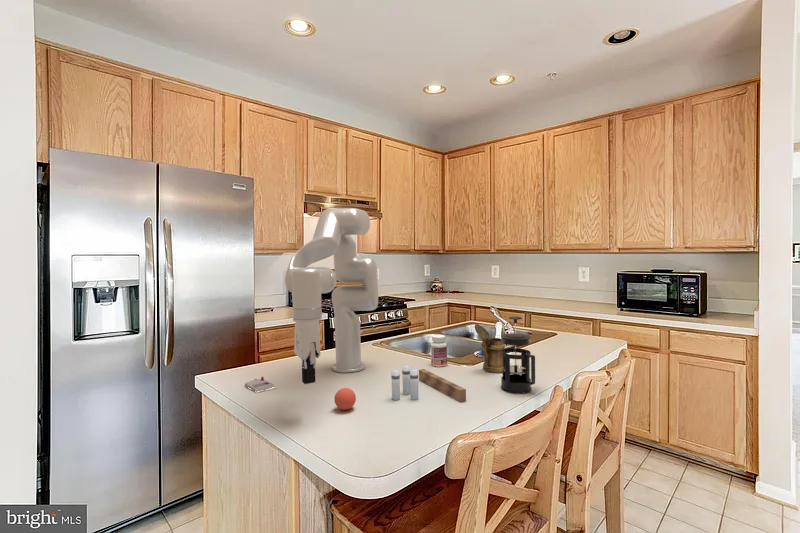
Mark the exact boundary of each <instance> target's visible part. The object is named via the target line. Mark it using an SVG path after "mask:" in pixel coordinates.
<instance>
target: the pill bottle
mask: <svg viewBox="0 0 800 533" xmlns="http://www.w3.org/2000/svg"><path fill="white" fill-rule="evenodd" d="M447 346H448V344H447V342H446V335H443V334H433V335H431V343H430V356H431V357H430V359H431V360H430V362H431V366H432V367H435V366H436V367H437V368H438V367H439V368H440V367H442V366H443V367H446V366H448V347H447Z"/></svg>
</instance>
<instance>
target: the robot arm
mask: <svg viewBox="0 0 800 533" xmlns="http://www.w3.org/2000/svg"><path fill="white" fill-rule="evenodd" d="M370 220H371V219H370V216H369V214H368V212H367V211H366V210H363V209H360V208H355V207H341V208H336V207H335V208H327V209H324V210H323V211H322V212H321V213H320V214H319V217H318V220H317V224H316V227H315V229H314V233H313V236H312V240H310V241H308V242H307V243H305V244H304V245H303V246H301V247H300V248H299V249H297V250H296V251H295V253H294V254H293V255H292V256H291V258H290V260H289V261H288V262H289V263H288V265H287V269H286V272H285V276H284V282H285V283H284V284H285V288H286V290H287V291H288V292H290V293H291V294H292V321H293V322H295V323H294V346H293V351H294V354H295V356H297V357H298V359H300V360H301V382H302V383H303V384H304V385H308V384H314V383H315V382H316V365H317V359H318V358H320V356H321V331H320V321H321V320H322V318H323V317H322V316H323V314H322V313H323V312H322V310H323V307H322V294H328V293H331V302H332V307H333V314H334V330H335V331H334V334H335V335H334V336H335V338H334V339H335V340H334V341H335V363H334V364H332V365H331V369H332V371H334V372H336V373H343V374H344V373H345V374H346V373H347V374H349V373H357V372H360V371H363V370H364V369H365V368H366V364H365V363H364V362H363V361H362V353H361V352H362V351H361V350H362V349H361V348H362V347H361V346H362V345H361V344H362V342H361V321H360V318H359V317H358V315H357V314H356V313H355V312H358V311H361V312H364V311H365V312H366V311H367V312H368V311H374V310H376V309H378V307H379V306H378V305H379V282H378V280H379V279H378V267H377V263H376V260H375V258H373V257H370V256H357V245H356V241H355V240H354V238H353V237H352V236H355V235H366V234H367V233H368V232H369V230H370V227H371V226H370V225H371V221H370ZM332 256H333V267H334V269H332V268H330V267H327V266H326V267H325V266H324V267H323V266H317V267H316V266H315V267H314V266H310V265H312V264H315V263H316V262H320V261H323V260H325V259H328V258H330V257H332ZM337 282H341V283H363V284H364V285H340V286H337ZM336 286H337V287H336Z"/></svg>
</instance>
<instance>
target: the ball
mask: <svg viewBox="0 0 800 533" xmlns="http://www.w3.org/2000/svg"><path fill="white" fill-rule="evenodd" d="M356 397H357V396H356V393H355V392H354V390H352V389H351V388H349V387H342V388H340V389H338V390H337V391H336V393H335V395H334V400H333V401H334V404H335V407H337V408H338V409H340V410H341V411H348V410H350V409H351V408H353V407H354V405H355V404H356V401H357V398H356Z"/></svg>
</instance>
